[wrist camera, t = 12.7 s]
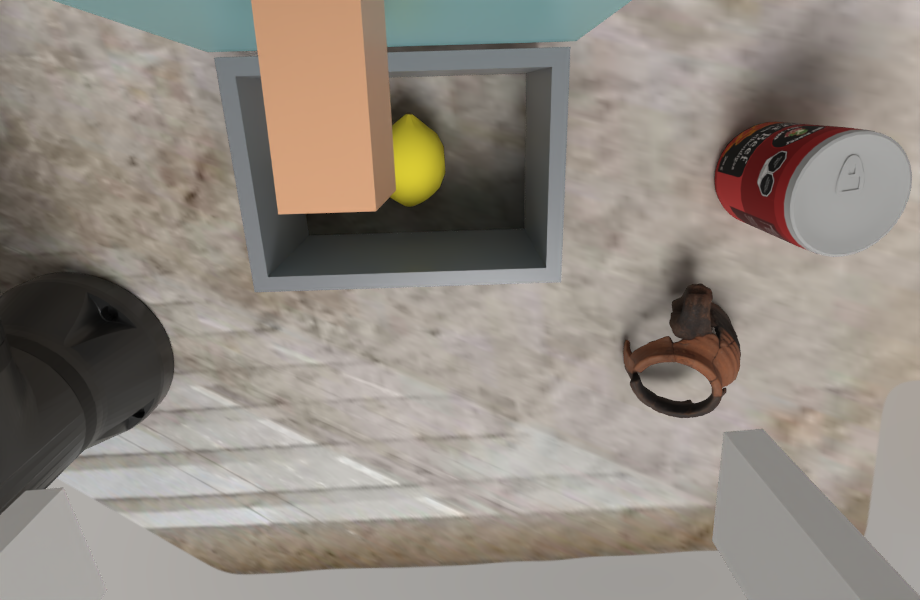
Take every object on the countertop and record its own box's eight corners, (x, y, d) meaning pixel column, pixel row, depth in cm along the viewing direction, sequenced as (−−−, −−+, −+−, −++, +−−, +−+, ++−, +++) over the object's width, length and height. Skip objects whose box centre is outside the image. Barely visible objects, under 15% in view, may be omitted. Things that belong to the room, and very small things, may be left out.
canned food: (794, 104, 42) (904, 108, 32) (814, 197, 45) (922, 228, 35) (699, 146, 43) (776, 163, 33) (724, 235, 46) (803, 276, 36)
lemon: (444, 197, 45) (442, 220, 40) (378, 194, 45) (369, 216, 40) (448, 109, 42) (447, 123, 37) (377, 105, 42) (367, 118, 37)
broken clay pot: (735, 367, 51) (732, 435, 45) (631, 353, 55) (616, 414, 49) (751, 260, 44) (750, 325, 39) (631, 253, 48) (613, 311, 42)
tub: (298, 247, 46) (254, 292, 35) (273, 66, 41) (214, 57, 30) (535, 239, 46) (560, 282, 36) (539, 58, 41) (570, 46, 31)
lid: (-96, 226, 13) (-237, -201, 11) (226, 171, 32) (201, 12, 30) (744, 199, 13) (797, -228, 11) (572, 160, 32) (577, 1, 30)
